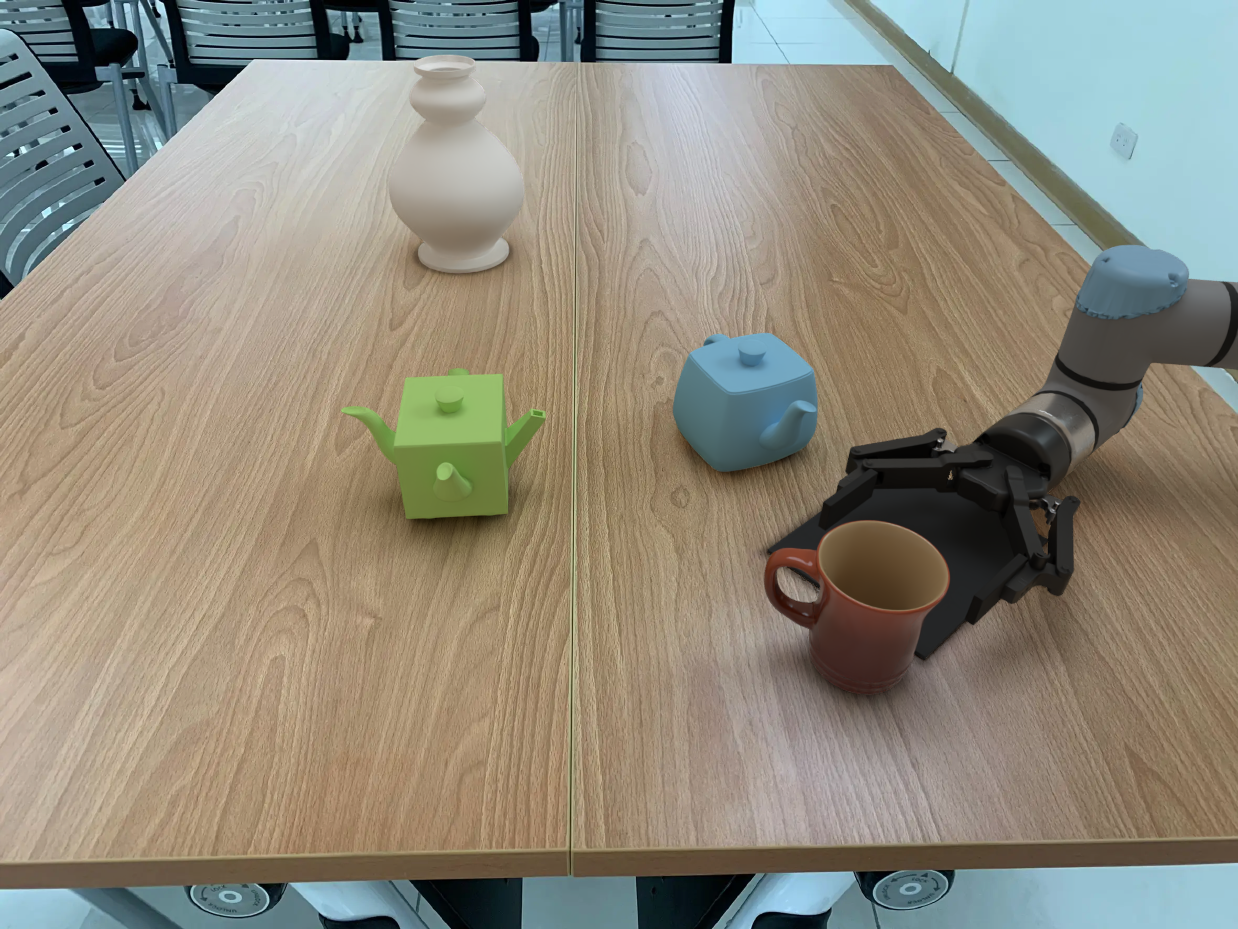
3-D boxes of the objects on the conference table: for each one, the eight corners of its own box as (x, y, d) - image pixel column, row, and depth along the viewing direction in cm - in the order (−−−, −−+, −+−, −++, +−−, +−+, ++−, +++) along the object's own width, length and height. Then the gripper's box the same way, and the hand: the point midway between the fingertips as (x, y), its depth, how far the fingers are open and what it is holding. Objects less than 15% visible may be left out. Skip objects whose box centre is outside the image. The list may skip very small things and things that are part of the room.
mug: (917, 630, 72) (950, 533, 65) (914, 723, 65) (951, 625, 58) (762, 597, 74) (778, 500, 67) (743, 683, 67) (759, 585, 61)
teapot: (742, 521, 82) (756, 420, 74) (652, 416, 94) (657, 321, 87) (851, 484, 86) (874, 386, 79) (751, 389, 98) (764, 297, 91)
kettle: (456, 568, 76) (441, 467, 69) (350, 501, 83) (326, 403, 76) (569, 481, 86) (565, 384, 79) (465, 426, 92) (453, 333, 85)
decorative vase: (439, 295, 114) (414, 93, 99) (376, 247, 125) (344, 58, 109) (552, 258, 123) (546, 68, 107) (484, 216, 134) (470, 37, 118)
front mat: (1047, 542, 80) (1048, 539, 80) (924, 660, 69) (925, 657, 69) (896, 459, 89) (897, 456, 89) (766, 552, 78) (767, 549, 78)
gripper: (1154, 553, 75) (1030, 690, 64) (903, 421, 89) (765, 515, 78) (1191, 485, 70) (1064, 620, 59) (920, 358, 85) (776, 448, 73)
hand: (894, 561), depth 69 cm, fingers open, 13 cm apart
